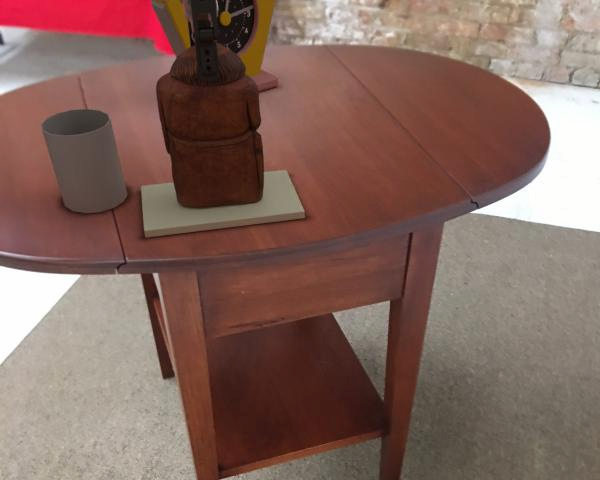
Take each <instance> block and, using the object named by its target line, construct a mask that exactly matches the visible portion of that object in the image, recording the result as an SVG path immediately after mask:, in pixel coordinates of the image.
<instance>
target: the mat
mask: <svg viewBox="0 0 600 480" xmlns="http://www.w3.org/2000/svg"><path fill="white" fill-rule="evenodd" d="M140 194H141V208H142V222H143V223H142V224H143V233H144V238H155V237H164V236H171V235H179V234H187V233H195V232H202V231H203V232H205V231H210V230H219V229H228V228H236V227H237V228H238V227H243V226H251V225H261V224H268V223H276V222H284V221H293V220H301V219H305V217H306V213H305V212H306V211H305V208H304V207H303V205H302V202H301V200H300V198H299V195H298V193H297V191H296V189H295V186H294V184H293V182H292V180H291V177H290V176H289V173H288V171H287V169H278V170H272V171H264V189H263V197H262V199H261V200H259V201H258V202H254V203H242V204H229V205H219V206H212V207H200V208H198V207H188V206H184V205H181V204H179V203H178V201H177V197H176V191H175V187H174V183H173V181H172V182H171V181H170V182H164V183H163V182H162V183H155V184H147V185H146V184H145V185H140Z"/></svg>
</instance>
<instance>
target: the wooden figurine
mask: <svg viewBox="0 0 600 480" xmlns="http://www.w3.org/2000/svg"><path fill="white" fill-rule="evenodd" d="M217 55H218V65H219V79H218V80H216V81H206V82H203V81H201V80H200V79H199V76H198V68H197V59H196V51H195V46H192V47H189V48H187V49H186V50H184V51H183V52H182V53H181V54H180V55H179V56H178V57H177V58H175V60H174V61H173V63H172V65H171V66H170V69H169V71H168V72H167V73H165V74H164V75H162V76H160V77H159V78H158V79H157V81H156V85H155V94H156V103H157V110H158V111H157V112H158V116H159V121H160V126H161V131H162V136H163V141H164V146H165V150H166V152H167V154H168V155H169V156H170V162H171V177H172V182H173V183H174V187H175V191H176V197H177V201H178V203H179V204H181V205H184V206H188V207H198V208H200V207H212V206H219V205H229V204H242V203H254V202H258V201H259V200H261V199H262V197H263V189H264V172H265V159H264V145H263V139H262V134H261V133H260V132H258V131H257V130H259V128H260V127H261V124H262V116H261V109H260V108H261V107H260V93H259V91H258V87H257V85H256V83H255V82H254V80H253V79H252V78H251V77H249V76H248V75H246V74H245V71H246V66H245V64H244V63H243V61H242V60H241V58H240V57H239V56H238V55H237V54H236V53H234V52H233V51H232V50H230V49H229V48H226V47H224V46H222V45H219V44H217Z"/></svg>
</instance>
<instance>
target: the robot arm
mask: <svg viewBox="0 0 600 480" xmlns="http://www.w3.org/2000/svg"><path fill="white" fill-rule="evenodd" d="M180 2H181V4H183V7H184V14H185V18H186V20H187V21H188V29H189V38H190V46H191V47H192V46H195V51H196V59H197V68H198V76H199V79H200V80H201V81H203V82H206V81H216V80H218V79H219V65H218V55H217V44H216V42H217V41H218V40H219V36H220V31H219V30H218V21H217V17H218V3H217V0H180ZM207 19H208V20H209V21H210V26H211V27H208V22H207Z"/></svg>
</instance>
